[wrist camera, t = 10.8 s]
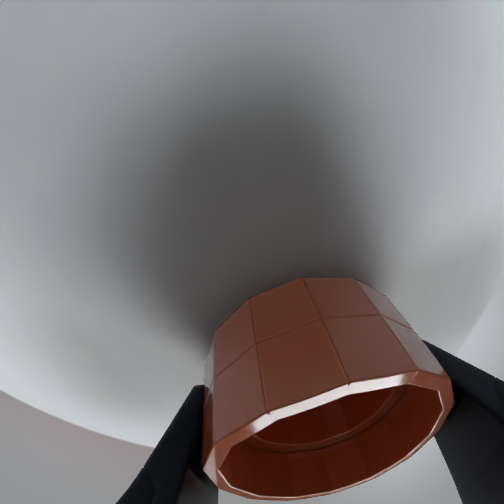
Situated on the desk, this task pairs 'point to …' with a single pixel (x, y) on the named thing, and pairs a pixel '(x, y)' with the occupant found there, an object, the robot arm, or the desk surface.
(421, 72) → the desk surface
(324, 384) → the rice bowl
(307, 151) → the desk surface
